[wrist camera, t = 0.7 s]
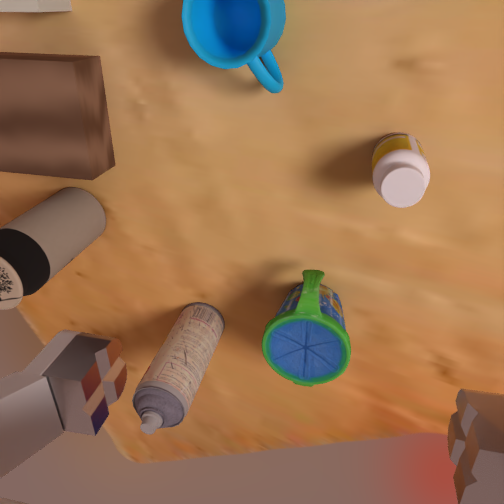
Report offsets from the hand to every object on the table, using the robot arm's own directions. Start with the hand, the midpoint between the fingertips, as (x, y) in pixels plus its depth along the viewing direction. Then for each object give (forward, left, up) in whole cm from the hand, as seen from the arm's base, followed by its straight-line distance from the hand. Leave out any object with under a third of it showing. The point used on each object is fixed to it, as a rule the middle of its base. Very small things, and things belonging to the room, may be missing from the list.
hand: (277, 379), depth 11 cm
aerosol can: (+34, -18, -43) cm, 58 cm away
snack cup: (+28, -1, -43) cm, 52 cm away
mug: (-5, -10, -43) cm, 45 cm away
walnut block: (+4, -35, -44) cm, 56 cm away
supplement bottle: (+7, +6, -43) cm, 44 cm away
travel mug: (+18, -35, -43) cm, 58 cm away
